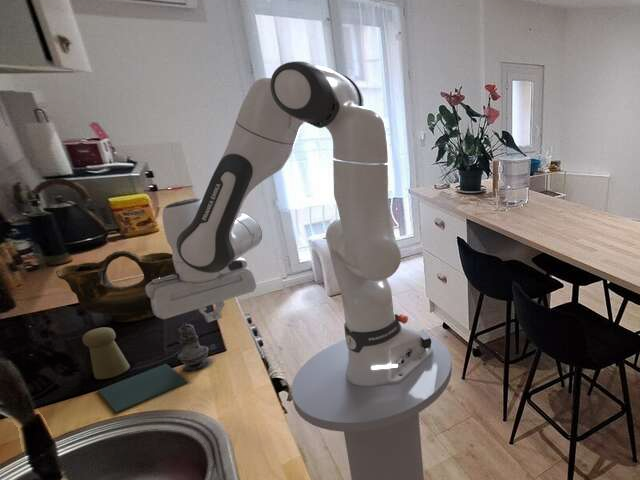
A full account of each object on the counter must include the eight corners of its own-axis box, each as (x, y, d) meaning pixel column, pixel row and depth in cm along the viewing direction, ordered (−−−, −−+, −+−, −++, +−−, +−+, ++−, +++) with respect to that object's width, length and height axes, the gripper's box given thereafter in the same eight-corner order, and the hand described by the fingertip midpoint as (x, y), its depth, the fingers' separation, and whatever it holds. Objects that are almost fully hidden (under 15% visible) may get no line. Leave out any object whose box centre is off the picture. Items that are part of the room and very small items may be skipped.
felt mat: (166, 364, 99) (166, 363, 99) (187, 382, 93) (187, 381, 93) (98, 391, 90) (97, 390, 89) (116, 413, 84) (116, 411, 84)
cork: (94, 370, 96) (78, 329, 92) (129, 360, 100) (115, 321, 96) (93, 382, 92) (76, 340, 88) (130, 372, 96) (115, 331, 92)
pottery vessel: (76, 336, 109) (47, 268, 102) (79, 320, 117) (53, 255, 110) (194, 309, 125) (176, 248, 118) (191, 296, 132) (174, 238, 126)
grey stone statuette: (175, 373, 96) (161, 329, 92) (190, 359, 101) (176, 316, 97) (204, 371, 97) (191, 327, 93) (216, 357, 103) (205, 315, 98)
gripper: (148, 285, 86) (165, 342, 91) (253, 258, 102) (263, 308, 107) (137, 278, 89) (155, 333, 94) (241, 253, 105) (251, 301, 110)
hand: (213, 319), depth 100 cm, fingers closed
